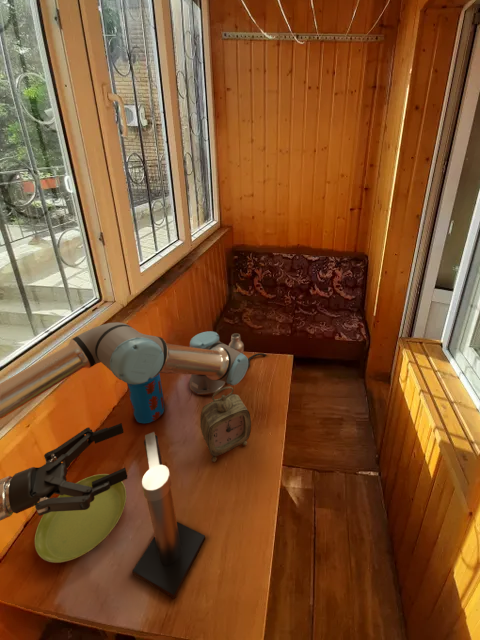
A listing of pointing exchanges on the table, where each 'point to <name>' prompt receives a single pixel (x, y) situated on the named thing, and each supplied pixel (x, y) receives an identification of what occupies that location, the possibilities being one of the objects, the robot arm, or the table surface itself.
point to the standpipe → (168, 549)
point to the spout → (155, 471)
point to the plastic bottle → (236, 343)
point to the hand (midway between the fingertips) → (124, 448)
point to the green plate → (80, 525)
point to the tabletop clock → (225, 423)
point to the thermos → (147, 400)
